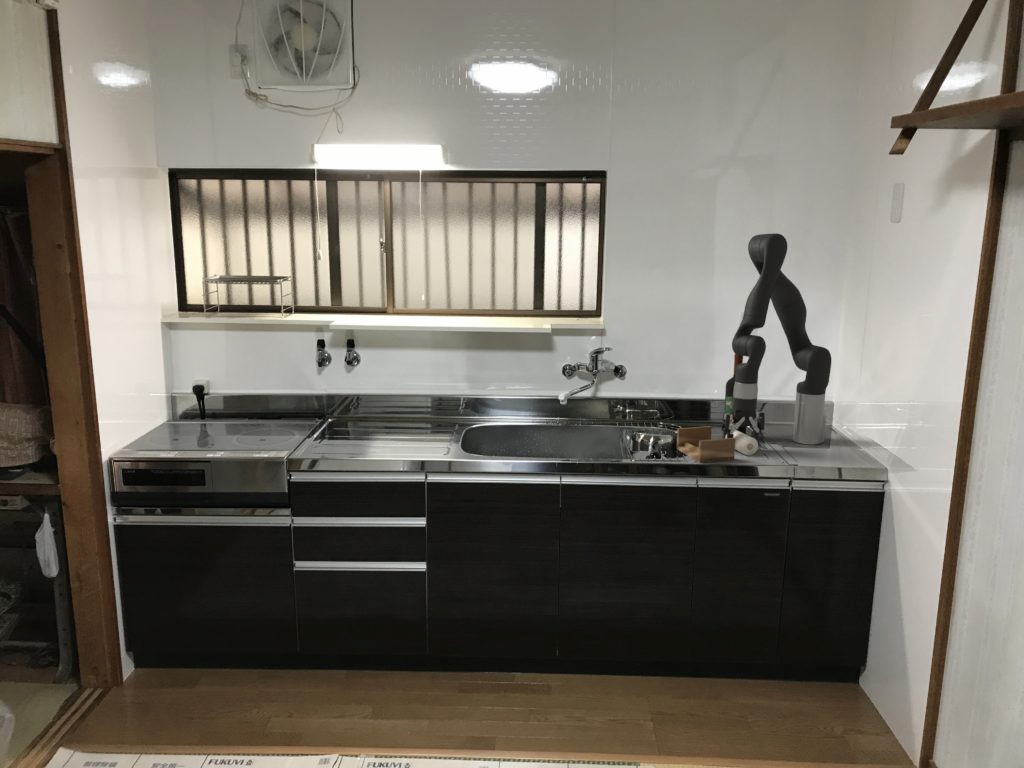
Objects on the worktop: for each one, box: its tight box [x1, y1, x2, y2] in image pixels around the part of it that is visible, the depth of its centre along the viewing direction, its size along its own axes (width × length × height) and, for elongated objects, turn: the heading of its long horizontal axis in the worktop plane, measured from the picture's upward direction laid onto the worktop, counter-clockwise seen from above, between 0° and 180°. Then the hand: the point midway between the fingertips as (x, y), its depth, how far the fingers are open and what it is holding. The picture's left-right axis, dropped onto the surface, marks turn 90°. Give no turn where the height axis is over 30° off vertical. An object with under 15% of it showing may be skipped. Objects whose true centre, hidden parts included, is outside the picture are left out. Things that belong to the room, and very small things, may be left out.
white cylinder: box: [725, 430, 759, 456], centre depth 248 cm, size 10×6×6 cm
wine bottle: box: [722, 353, 747, 439], centre depth 260 cm, size 8×8×30 cm
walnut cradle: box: [676, 425, 736, 463], centre depth 245 cm, size 16×12×7 cm
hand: (741, 443), depth 249 cm, fingers open, 8 cm apart
